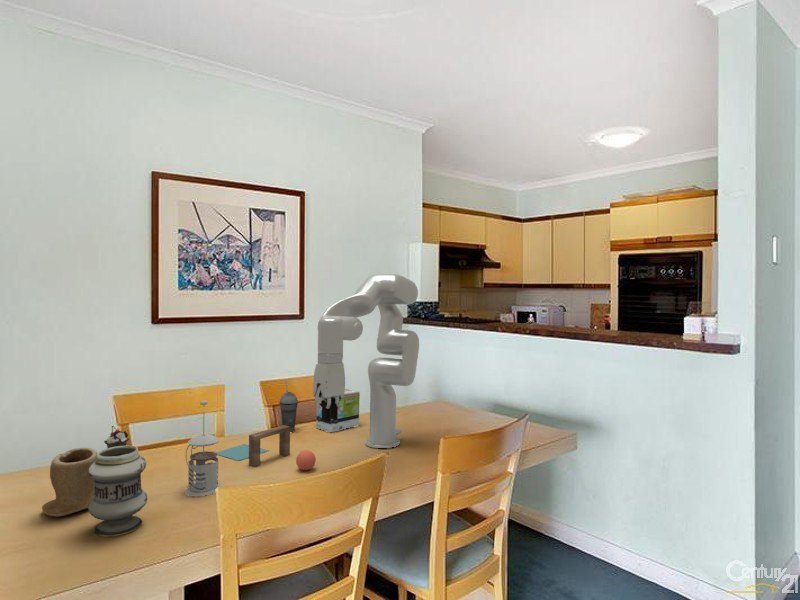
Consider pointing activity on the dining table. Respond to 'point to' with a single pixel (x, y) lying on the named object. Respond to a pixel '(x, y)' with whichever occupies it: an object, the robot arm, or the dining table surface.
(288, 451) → the bridge
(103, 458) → the apothecary jar
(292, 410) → the beverage cup
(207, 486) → the french press
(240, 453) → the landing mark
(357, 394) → the tea box
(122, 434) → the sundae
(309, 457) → the ball
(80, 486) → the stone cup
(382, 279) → the robot arm
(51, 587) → the dining table surface
